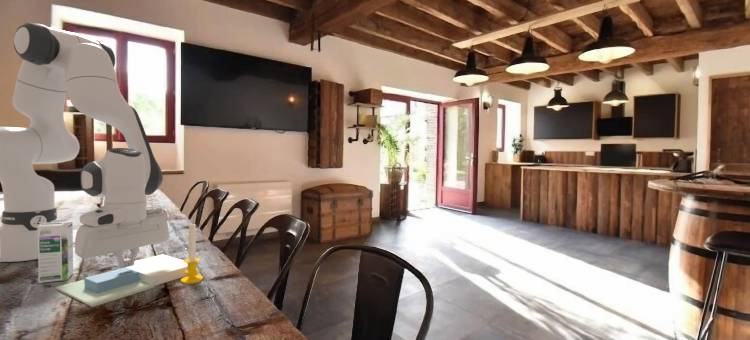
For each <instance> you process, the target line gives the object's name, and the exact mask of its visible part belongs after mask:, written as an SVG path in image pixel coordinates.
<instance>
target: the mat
mask: <svg viewBox="0 0 750 340" xmlns="http://www.w3.org/2000/svg"><path fill="white" fill-rule="evenodd" d="M154 288H155V286H154V285H151V284H149V283H146V282H143V281H141V280H139V282H135V283H132V284H128V285H125V286H122V287H118V288H115V289H111V290H108V291H105V292H101V293H98V294H97V293H95V292H92V291H90V290H88V289H85V288H84V279H81V280H77V281H72V282H70V283H65V284H62V285H57V286H55V288H54V289H55V290H56V291H59V292H61V293H63V294H65V295H67V296H69V297H71V298H72V299H75V300H77V301H79V302H82V303H83V304H85V305H87V306H89V307H92V308H94V307H97V306H101V305H103V304H107V303H111V302H114V301H116V300H119V299H123V298H125V297H128V296H131V295H135V294H138V293H141V292H144V291H147V290H150V289H154Z"/></svg>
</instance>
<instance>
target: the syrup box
mask: <svg viewBox="0 0 750 340" xmlns="http://www.w3.org/2000/svg"><path fill="white" fill-rule="evenodd" d="M73 224H74V223H73V220H70V221H57V222H47V223H42V224H40V225H39V226H38V227H37V237H38V259H37V260H38V261H37V262H38V263H37V264H38V267H37V268H38V269H37V270H38V271H37V273H38V276H37V278H38V279H37V282H38V284H44V283H51V282H61V281H62V282H64V281H68V280H69V278H71V276H72V275H73V274H74V241H73V240H74V235H73V233H74V230H73V228H74V227H73Z"/></svg>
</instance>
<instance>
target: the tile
mask: <svg viewBox="0 0 750 340" xmlns="http://www.w3.org/2000/svg"><path fill="white" fill-rule="evenodd" d="M83 280H84V288H85V289H88V290H90V291H92V292H95V293H97V294H98V293H101V292H105V291H108V290H111V289H115V288H118V287H122V286H125V285H128V284H132V283H135V282H139V275H138V272H137V271H135V270H132V269H129V268H126V267H125V268H121V269H118V268H117V269H115V270H111V271H105V272H102V273H99V274H94V275H91V276H87V277H84V278H83Z"/></svg>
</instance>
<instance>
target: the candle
mask: <svg viewBox="0 0 750 340" xmlns="http://www.w3.org/2000/svg"><path fill="white" fill-rule="evenodd" d="M196 233H197V230H196V224H195V223H194V222H193V221H191V222H190V223H189V225H188V258H185V259H183V260H184V262H185V263H187V264H188V266H187V269H188V270H187V271H185V274H187V275H188V276H184V277H181V278H180V283H182V284H184V285H185V284H187V285H190V284H197V283H199V282H202V280H203V279H204V277H203V276H202V275H201V274H199V272H200V270H199V269H197V267H198V266H197V263H198V262H199V261H201V258H199V257H197V245H196V244H197V243H196V242H197V238H196V237H197V236H196V235H197V234H196Z"/></svg>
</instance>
